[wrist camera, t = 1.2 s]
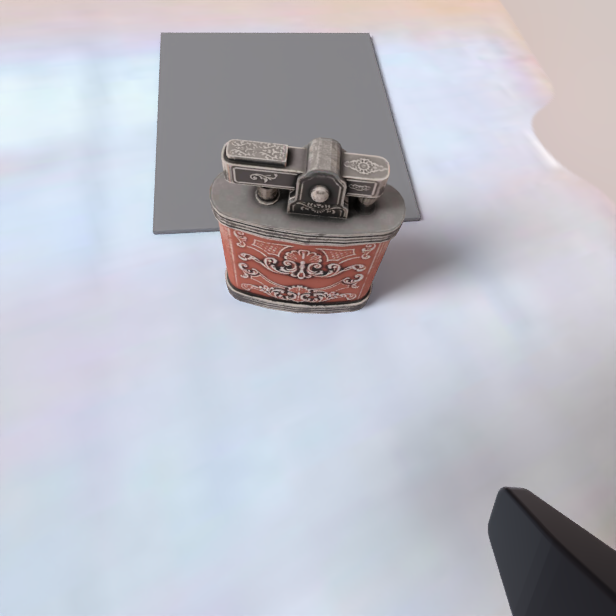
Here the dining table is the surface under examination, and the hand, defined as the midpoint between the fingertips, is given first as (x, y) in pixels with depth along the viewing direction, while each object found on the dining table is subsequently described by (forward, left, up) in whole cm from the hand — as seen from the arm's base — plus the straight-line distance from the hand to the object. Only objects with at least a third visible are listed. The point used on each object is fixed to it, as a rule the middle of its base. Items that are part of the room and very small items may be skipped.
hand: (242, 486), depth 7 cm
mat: (+24, -3, -13) cm, 28 cm away
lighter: (+11, -3, -14) cm, 18 cm away
